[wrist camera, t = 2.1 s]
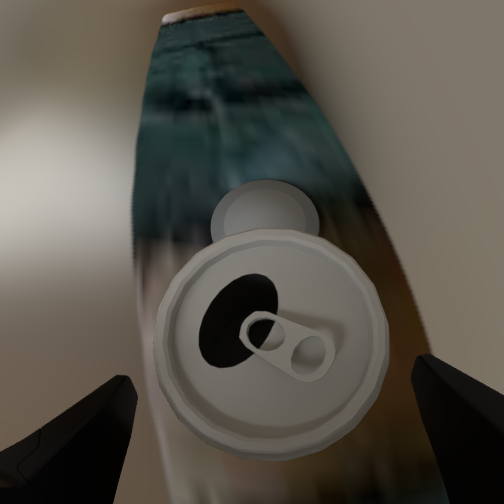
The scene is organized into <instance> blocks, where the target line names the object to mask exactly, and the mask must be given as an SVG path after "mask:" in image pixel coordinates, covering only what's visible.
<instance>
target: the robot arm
mask: <svg viewBox="0 0 504 504" xmlns="http://www.w3.org/2000/svg"><path fill="white" fill-rule="evenodd" d="M411 382H412V386H413V389H414V393H415V396H416V400H417V403H418V407H419V411H420V415H421V418H422V421H423V424H424V427H425V429H426V432H427V435H428V437H429V440H430V443H431V446H432V448H433V451H434V454H435V457H436V460H437V463H438V466H439V469H440V472H441V475H442V478H443V481H444V485H445V488H446V491H447V495H448V498H449V502H450V504H504V395H503V394H501V393H499V392H497V391H495V390H494V389H491V388H490V387H488V386H486V385H485V384H483V383H481V382H479V381H477V380H475V379H474V378H472V377H470V376H468V375H467V374H465V373H463V372H461V371H460V370H458V369H456V368H454V367H452V366H451V365H449V364H447V363H445V362H444V361H441V360H440V359H438V358H436V357H435V356H433V355H431V354H423V355H419V356H418V357H417V358H416V360H415V364H414V367H413V370H412V373H411ZM137 400H138V396H137V392H136V390H135V388H134V385H133V383H132V381H131V379H130V377H128V376H127V375H116V376H114V377H113V378H112V379H110V380H109V381H107V382H106V383H104V384H103V385H101V386H100V387H99V388H97V389H96V390H94V391H93V392H92V393H90V394H89V395H87V396H86V397H84V398H83V399H82V400H80V401H79V402H77V403H76V404H75V405H73V406H72V407H70V408H69V409H67V410H66V411H64V412H63V413H62V414H60V415H59V416H57V417H56V418H54V419H53V420H51V421H50V422H48V423H47V424H45V425H44V426H43V427H41V428H40V429H38V430H37V431H35V432H34V433H32V434H30V435H29V436H28V437H26V438H24V439H23V440H21V441H19V442H17V443H16V444H14V445H12V446H10V447H9V448H6V449H4V450H3V451H1V452H0V504H113V502H114V497H115V494H116V490H117V486H118V482H119V478H120V474H121V471H122V467H123V463H124V460H125V456H126V453H127V449H128V446H129V442H130V438H131V434H132V428H133V422H134V417H135V411H136V405H137Z"/></svg>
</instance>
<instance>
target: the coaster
mask: <svg viewBox="0 0 504 504" xmlns="http://www.w3.org/2000/svg"><path fill="white" fill-rule="evenodd" d="M255 228H293V229H296V230H299V231H302V232H305V233H309V234H312V235H315V236H318V234H319V217H318V213H317V211H316V208H315V206H314V205H313V203H312V201H311V200H310V199H309V198H308V196H307V195H305V194H304V193H303V192H302V191H301V190H299V189H298V188H296V187H294V186H292V185H290V184H288V183H285V182H281V181H276V180H256V181H252V182H248V183H245V184H242V185H240V186H238V187H236V188H235V189H233V190H231V191H230V192H229V193H228V194H226V195H225V196H224V197H223V198H222V200H221V201H220V202H219V203H218V205H217V207H216V209H215V211H214V213H213V216H212V220H211V235H212V239H213V242H214V243H215V242H216V241H218V240H220V239H221V238H223V237H225V236H228V235H231V234H235V233H239V232H243V231H247V230H251V229H255Z"/></svg>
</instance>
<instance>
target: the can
mask: <svg viewBox="0 0 504 504" xmlns="http://www.w3.org/2000/svg"><path fill="white" fill-rule="evenodd" d="M153 346H154V347H153V353H154V359H155V365H156V370H157V376H158V381H159V386H160V388H161V390H162V391H163V393H164V395H165V397H166V399H167V401H168V402H169V404H170V406H171V408H172V409H173V411H174V413H175V415H176V416H177V418H178V419H179V420H180V421H181V422H182V423H183V424H184V425H186V426H187V427H188V428H189V429H190V430H191V431H192V432H193V433H194V434H196V435H197V436H198V437H199V438H200V439H201V440H202V441H204V442H205V443H206V444H208V445H210V446H213V447H215V448H217V449H220V450H222V451H224V452H227V453H229V454H232V455H234V456H237V457H239V458H242V459H250V460H264V461H286V460H290V459H294V458H298V457H302V456H305V455H309V454H312V453H316V452H319V451H322V450H324V449H325V448H327V447H328V446H330V445H331V444H333V443H334V442H336V441H337V440H339V439H340V438H342V437H343V436H345V435H346V434H347V433H349V432H350V431H352V430H353V429H354V428H355V427H356V426H357V425H358V423H359V422H360V421H361V420H362V418H363V417H364V416H365V414H366V413H367V412H368V410H369V409H370V408H371V406H372V405H373V403H374V402H375V401H376V399H377V398H378V396H379V393H380V390H381V387H382V384H383V381H384V377H385V374H386V371H387V368H388V364H389V324H388V321H387V319H386V315H385V312H384V310H383V307H382V304H381V301H380V299H379V296H378V293H377V291H376V288H375V286H374V284H373V283H372V281H371V280H370V279H369V278H368V276H367V275H366V274H365V272H364V271H363V270H362V269H361V267H360V266H359V265H358V264H357V262H356V261H355V260H354V259H353V258H352V257H351V256H349V255H348V254H347V253H345V252H344V251H342V250H341V249H339V248H338V247H336V246H335V245H333V244H332V243H330V242H329V241H327V240H326V239H324V238H321V237H318V236H315V235H312V234H309V233H305V232H302V231H299V230H296V229H293V228H255V229H251V230H247V231H243V232H239V233H235V234H231V235H228V236H225V237H223V238H221V239H220V240H218V241H216V242H215V243H213V244H211V245H210V246H208V247H206V248H204V249H203V250H201V251H199V252H198V253H196V254H195V255H194V256H193V257H192V259H191V260H190V261H189V262H188V263H187V264H186V265H185V266H184V267H183V268H182V269H181V270H180V271H179V272H178V274H177V275H176V276H175V277H174V278H173V280H172V282H171V284H170V286H169V288H168V290H167V292H166V294H165V296H164V298H163V300H162V302H161V304H160V306H159V308H158V313H157V320H156V326H155V333H154V340H153Z"/></svg>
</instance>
